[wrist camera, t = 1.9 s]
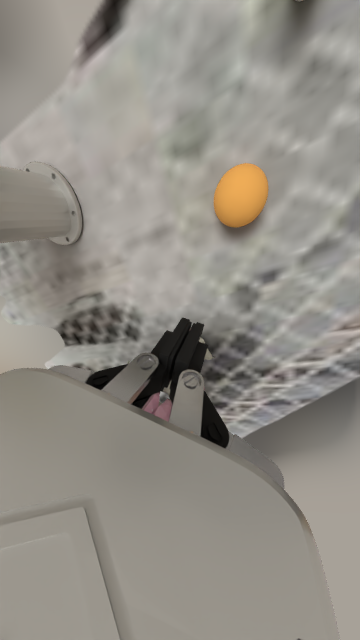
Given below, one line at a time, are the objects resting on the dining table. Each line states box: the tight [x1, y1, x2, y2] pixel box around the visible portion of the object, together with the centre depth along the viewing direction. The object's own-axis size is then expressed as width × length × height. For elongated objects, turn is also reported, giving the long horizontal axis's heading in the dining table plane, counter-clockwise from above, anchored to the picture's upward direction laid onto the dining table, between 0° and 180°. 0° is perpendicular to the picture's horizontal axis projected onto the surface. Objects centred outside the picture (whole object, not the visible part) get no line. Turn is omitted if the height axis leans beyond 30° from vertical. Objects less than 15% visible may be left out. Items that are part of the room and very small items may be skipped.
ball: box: [214, 163, 268, 227], centre depth 19 cm, size 6×6×6 cm
